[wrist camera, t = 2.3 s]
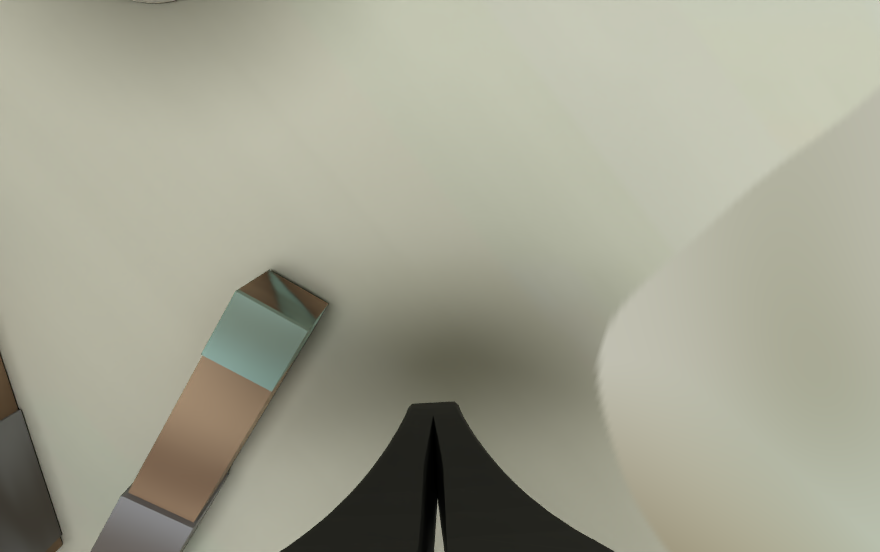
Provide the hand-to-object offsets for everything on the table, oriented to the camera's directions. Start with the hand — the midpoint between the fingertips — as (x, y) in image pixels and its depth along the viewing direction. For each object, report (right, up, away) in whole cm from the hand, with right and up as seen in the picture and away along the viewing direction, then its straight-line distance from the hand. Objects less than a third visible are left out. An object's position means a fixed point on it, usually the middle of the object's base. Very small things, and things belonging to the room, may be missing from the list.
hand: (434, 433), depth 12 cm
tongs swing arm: (-9, -2, +5) cm, 10 cm away
